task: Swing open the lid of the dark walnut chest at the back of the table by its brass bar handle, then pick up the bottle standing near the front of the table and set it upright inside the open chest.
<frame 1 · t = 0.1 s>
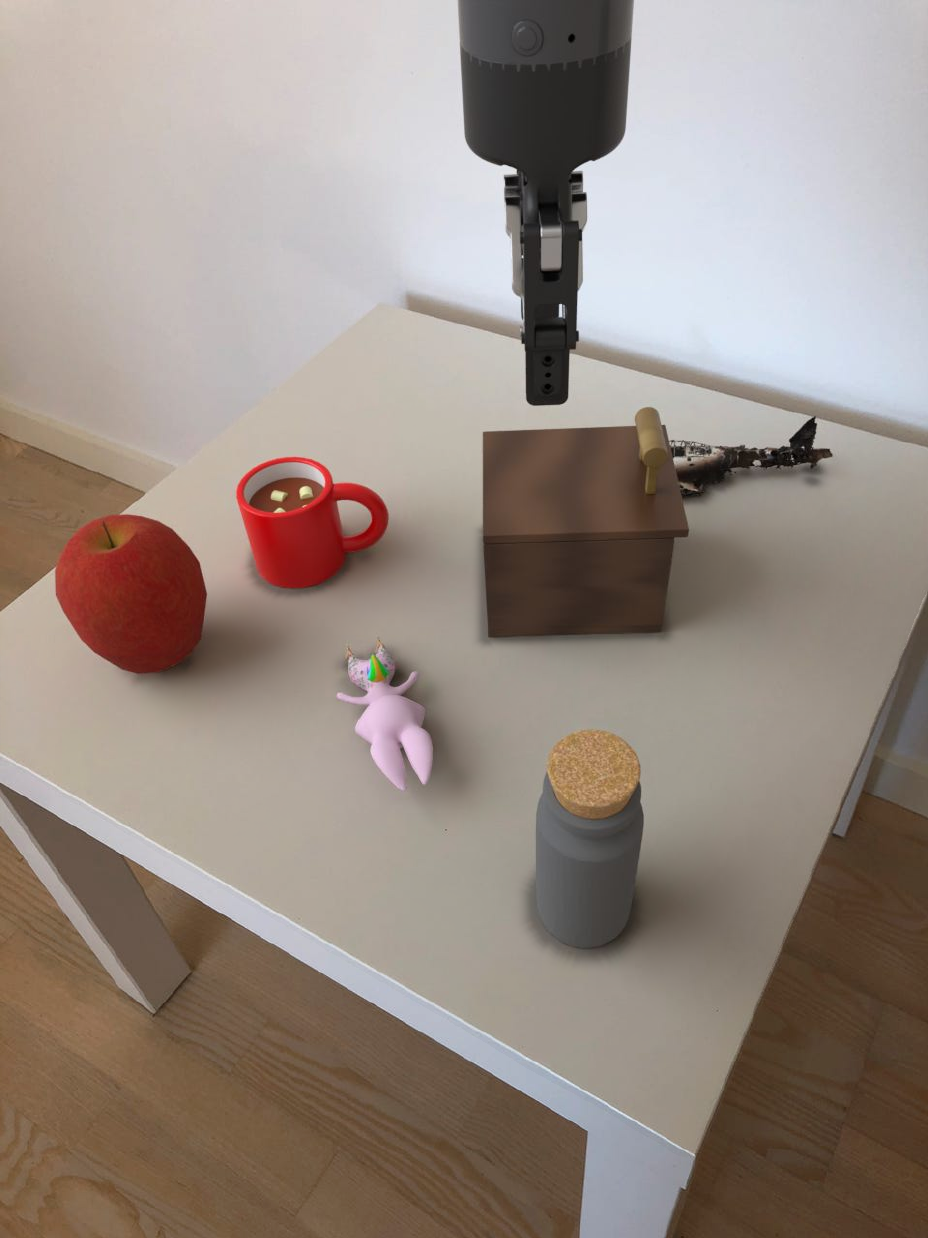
hand: (543, 358, 53), 27 cm above the table, tool pointing down, fingers open, 8 cm apart
mug: (325, 555, 83), on the table
chest: (569, 578, 79), on the table
pink creature figurine: (390, 728, 69), on the table
lid: (579, 457, 70), point 12 cm above the table, hinge at 0.0°
bottle: (582, 905, 59), on the table
apple: (161, 654, 76), on the table
airplane wreck: (723, 485, 86), on the table
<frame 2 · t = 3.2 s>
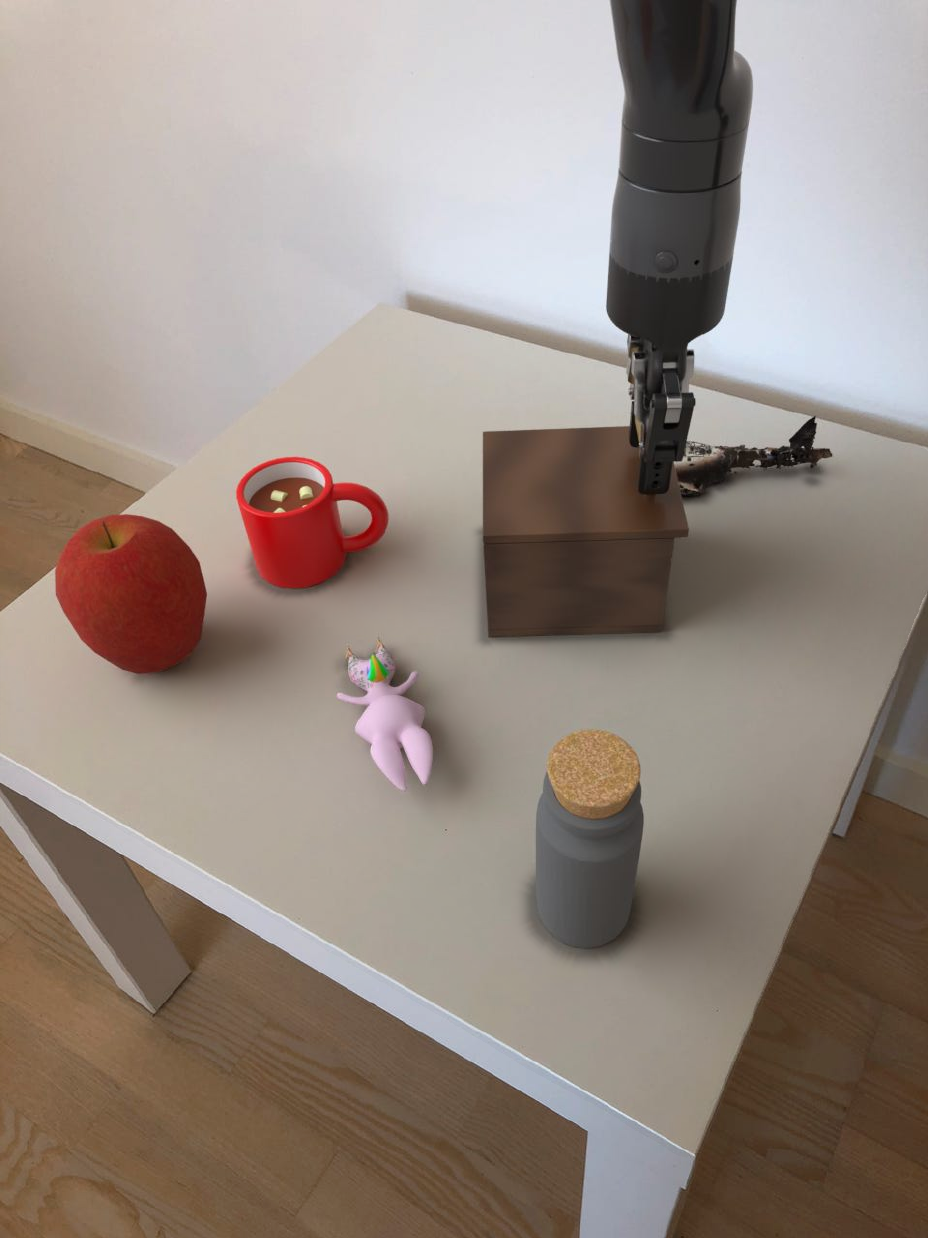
hand: (647, 465, 70), 11 cm above the table, tool pointing down, fingers closed on lid, 5 cm apart
lid: (580, 457, 70), point 12 cm above the table, hinge at 0.0°, touching gripper
everything else where it was.
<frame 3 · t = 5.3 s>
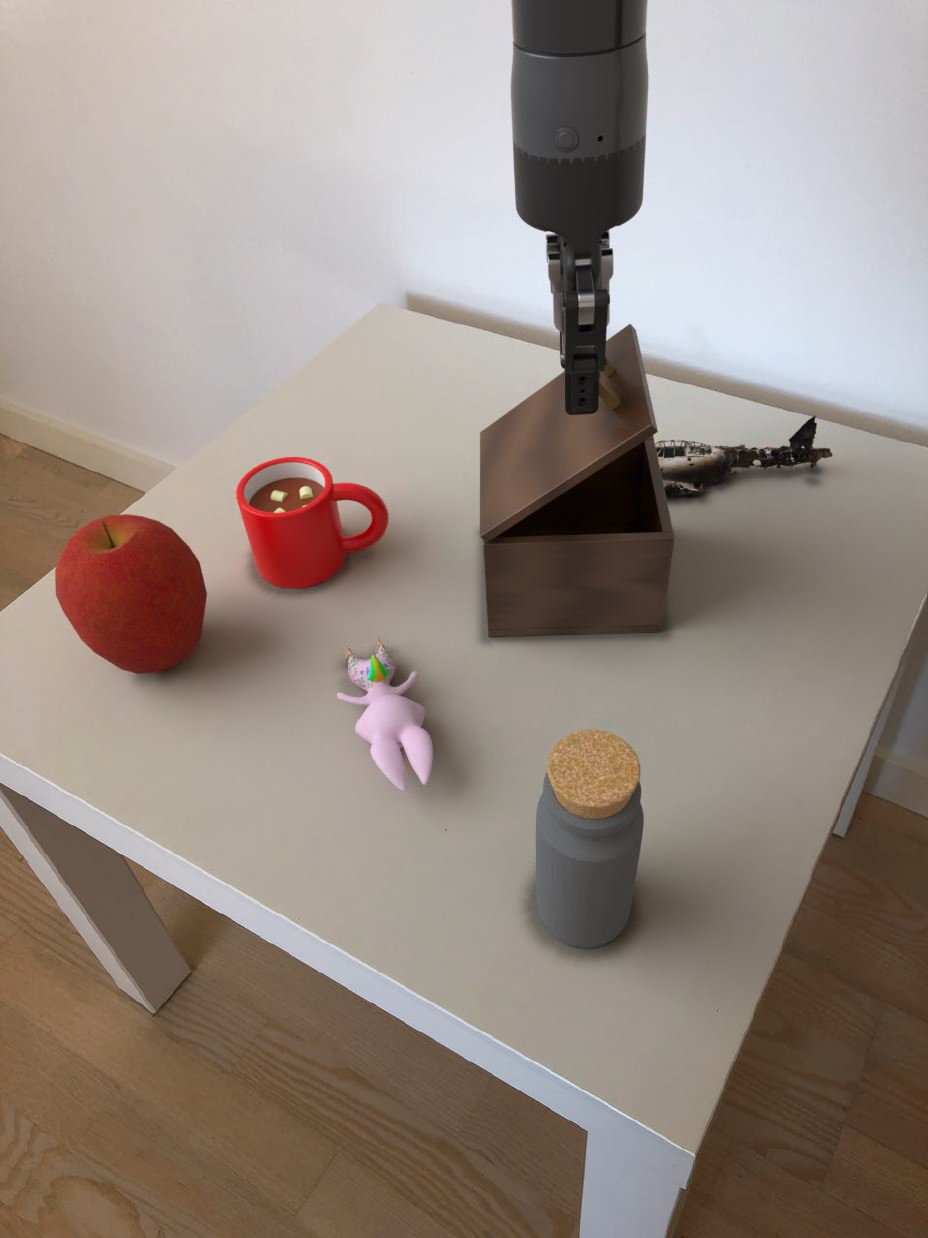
hand: (578, 386, 65), 18 cm above the table, tool pointing down, fingers closed on lid, 5 cm apart
lid: (540, 413, 67), point 16 cm above the table, hinge at 38.6°, touching gripper
everything else where it was.
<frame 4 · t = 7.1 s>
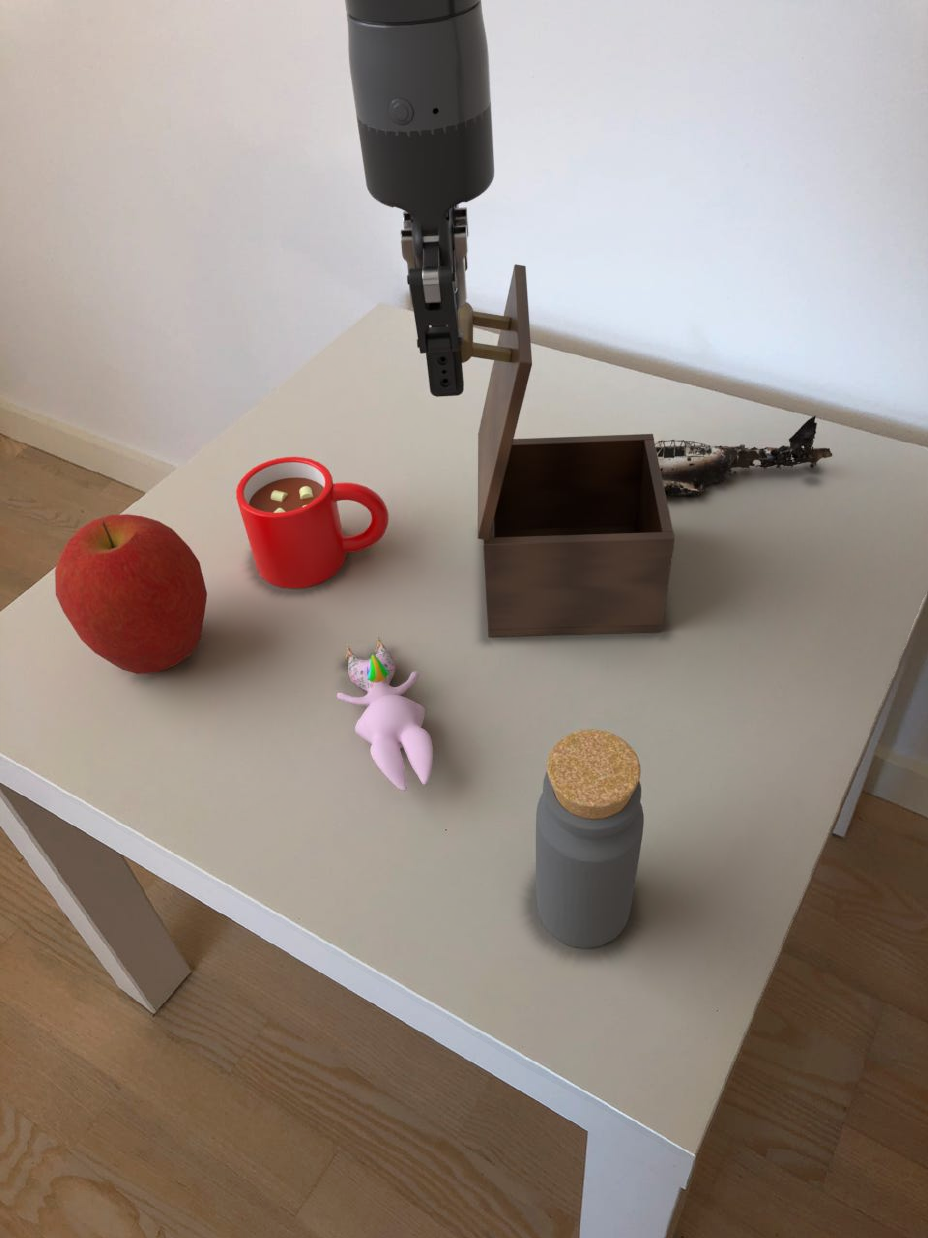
hand: (448, 368, 64), 20 cm above the table, tool pointing down, fingers closed on lid, 5 cm apart
lid: (471, 399, 66), point 18 cm above the table, hinge at 77.4°, touching gripper
everything else where it was.
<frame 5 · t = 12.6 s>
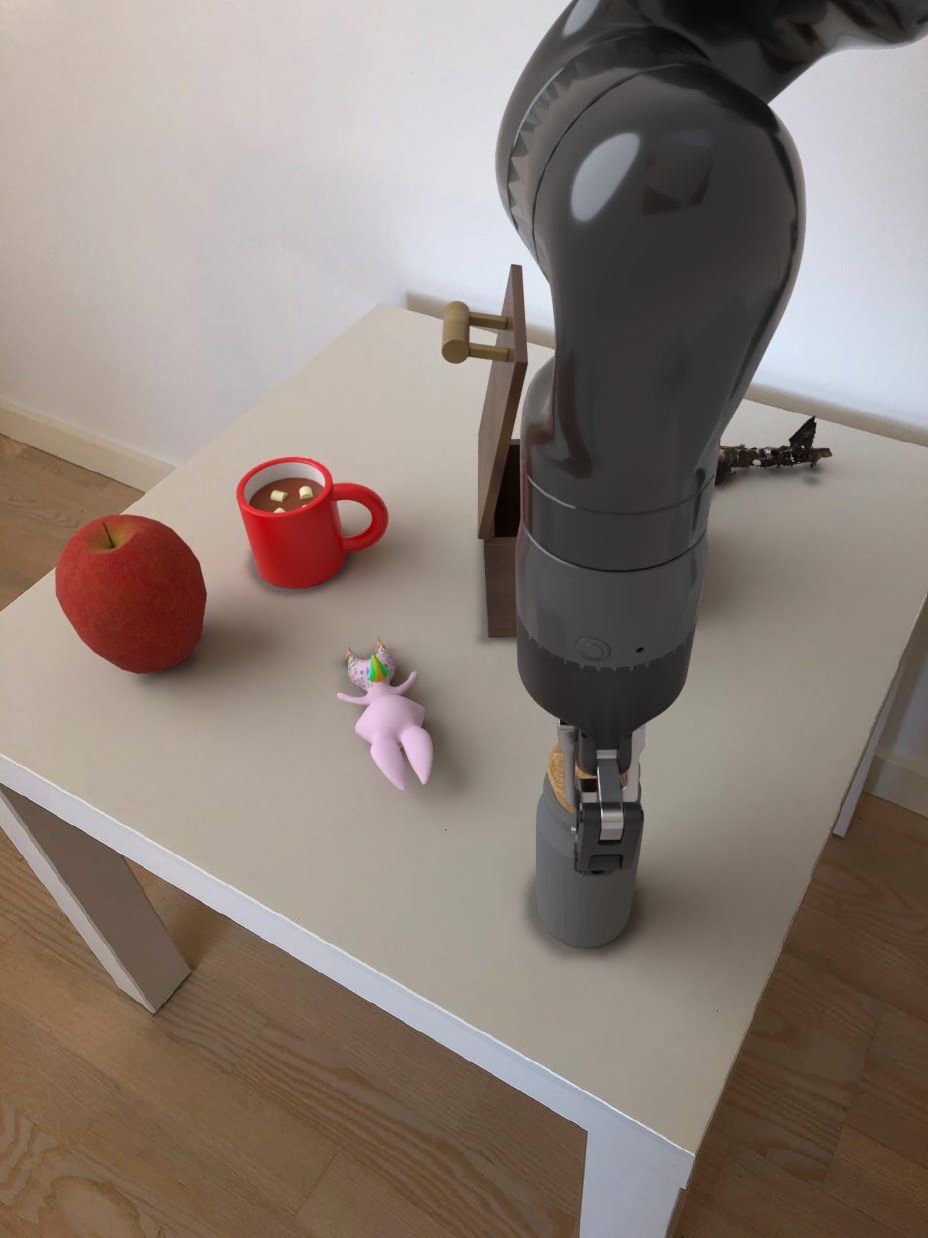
hand: (589, 812, 51), 11 cm above the table, tool pointing down, fingers closed on bottle, 5 cm apart
lid: (469, 399, 66), point 18 cm above the table, hinge at 78.4°
bottle: (582, 905, 59), on the table, touching gripper
everything else where it was.
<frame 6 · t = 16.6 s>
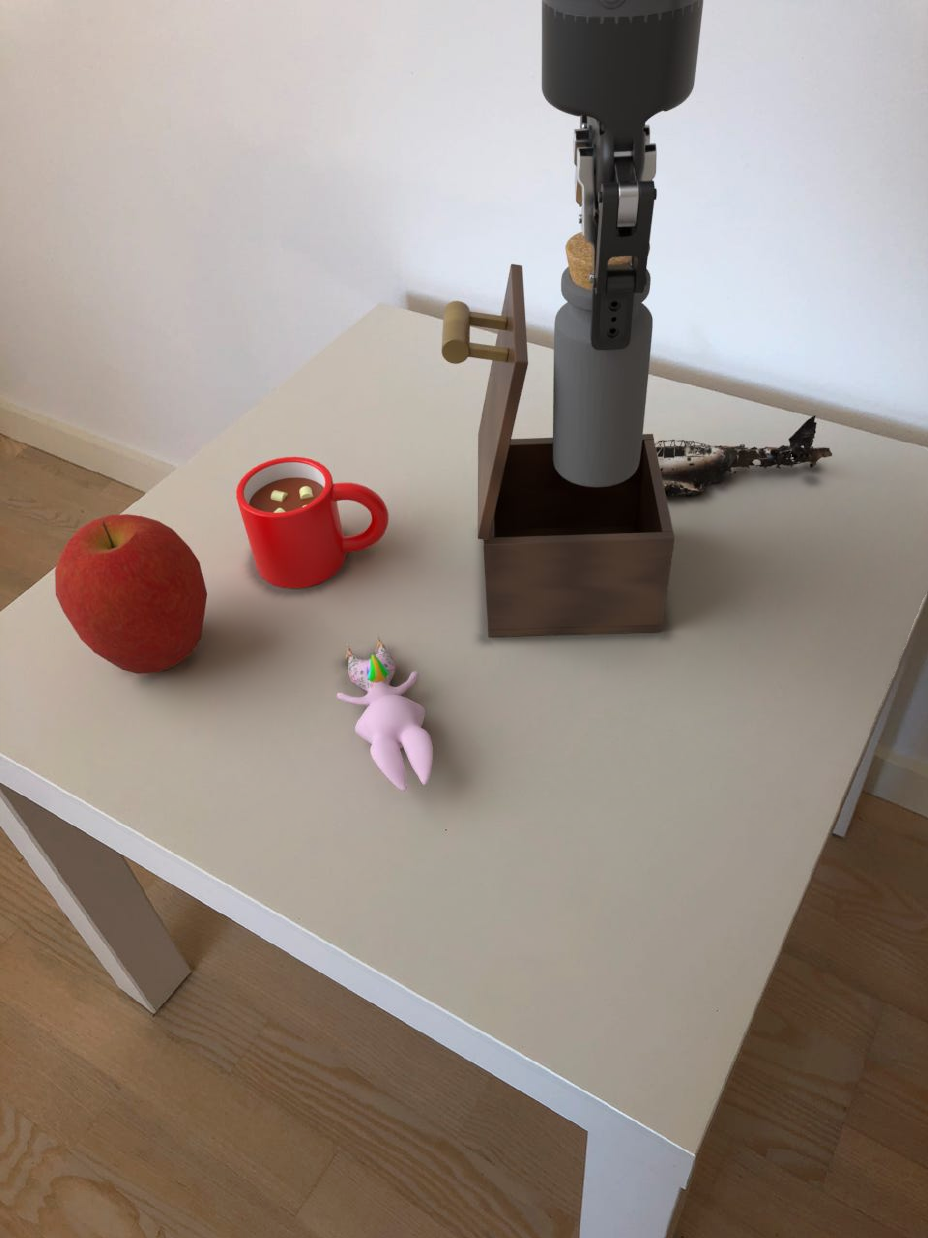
hand: (604, 317, 56), 26 cm above the table, tool pointing down, fingers closed on bottle, 5 cm apart
bottle: (595, 463, 64), point 16 cm above the table, touching gripper
everything else where it was.
when the fingers open (11 cm above the table, at t = 20.9 s): bottle stays where it is, resting on chest.
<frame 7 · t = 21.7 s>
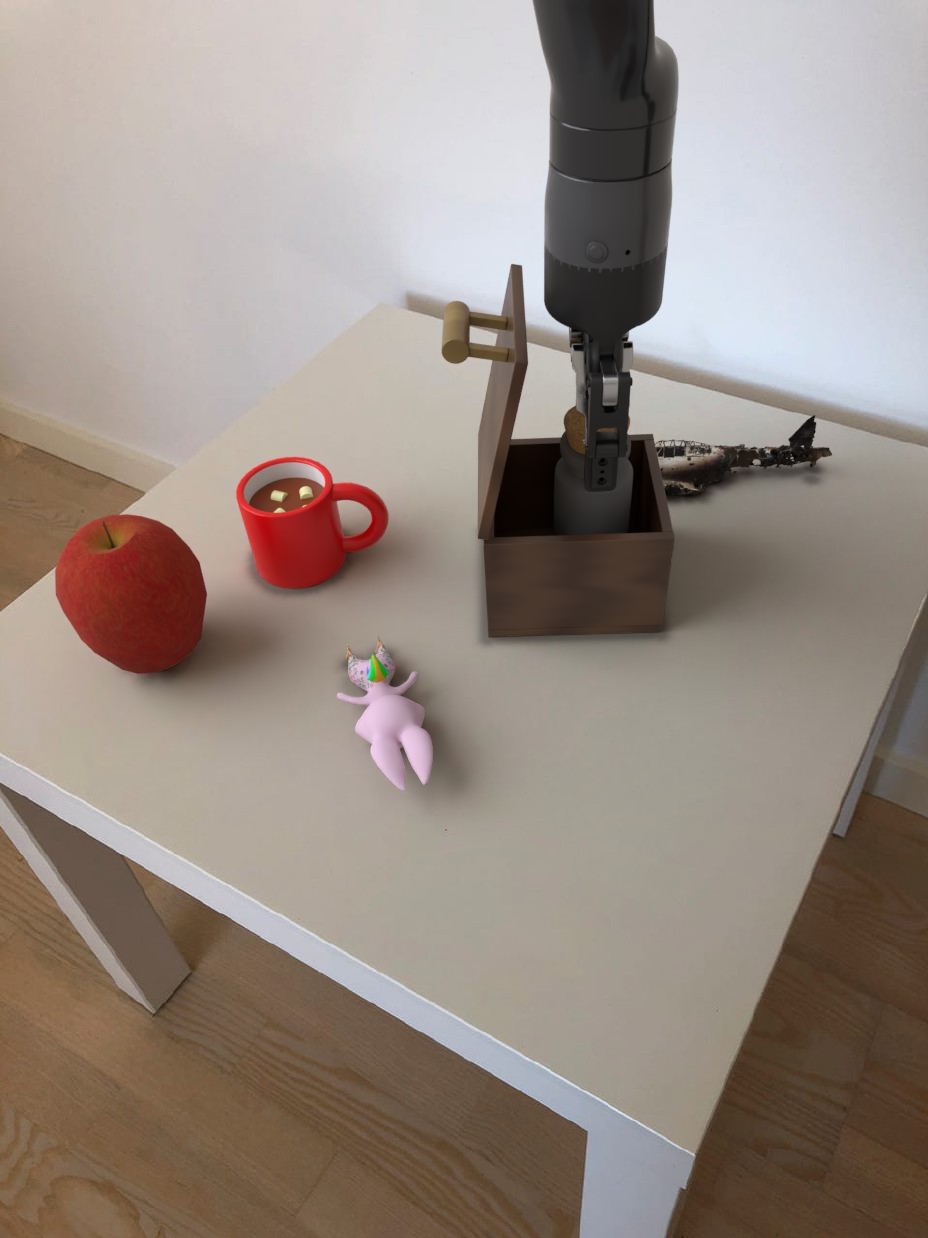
hand: (594, 451, 69), 13 cm above the table, tool pointing down, fingers open, 8 cm apart
bottle: (588, 573, 78), point 1 cm above the table, touching chest
everything else where it was.
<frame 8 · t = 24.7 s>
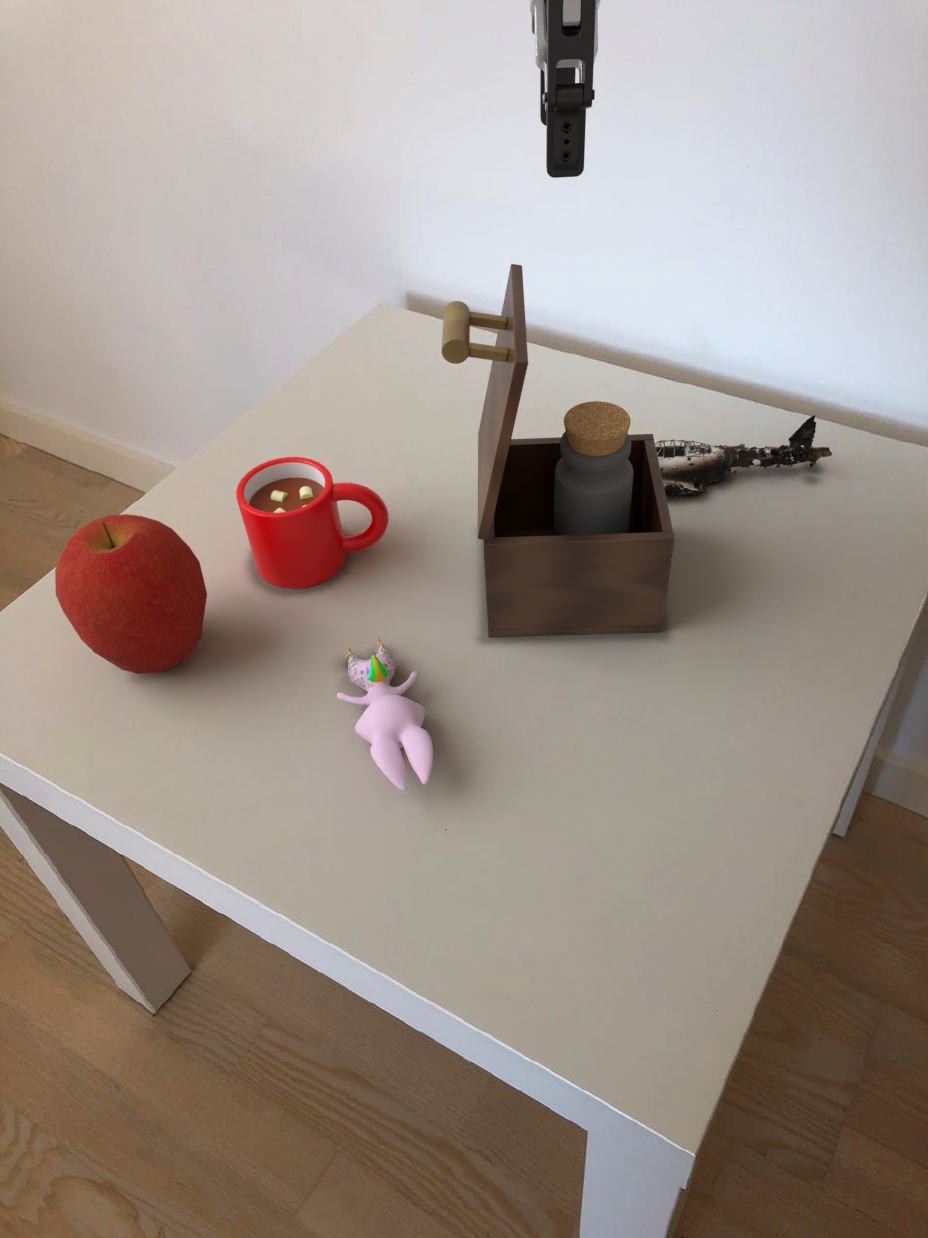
hand: (560, 147, 60), 32 cm above the table, tool pointing down, fingers open, 8 cm apart
nothing on the table moved.
at the end: lid at +78° (first picture: +0°); bottle inside the target area in the chest (1.5 cm from its centre), point 0.6 cm above the chest's base; bottle tilted 0° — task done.
